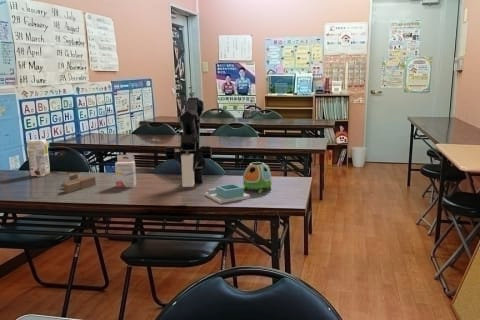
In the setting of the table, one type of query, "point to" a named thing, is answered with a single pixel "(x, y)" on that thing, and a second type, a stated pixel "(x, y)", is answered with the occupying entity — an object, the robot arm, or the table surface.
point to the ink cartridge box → (125, 171)
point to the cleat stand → (227, 193)
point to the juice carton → (38, 157)
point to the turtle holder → (257, 176)
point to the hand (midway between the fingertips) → (187, 170)
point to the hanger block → (187, 170)
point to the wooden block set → (78, 183)
